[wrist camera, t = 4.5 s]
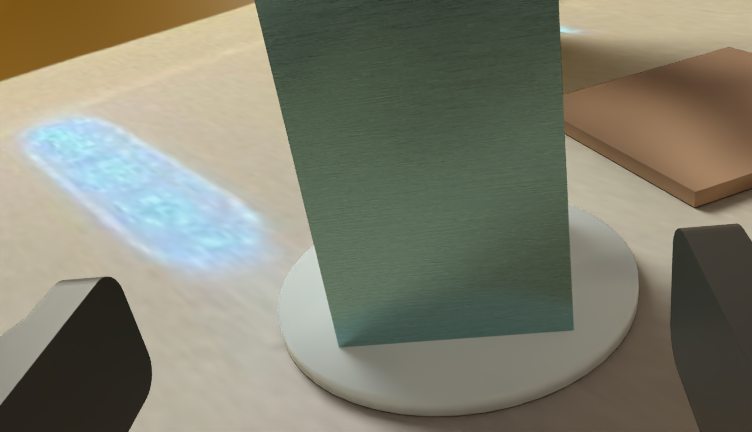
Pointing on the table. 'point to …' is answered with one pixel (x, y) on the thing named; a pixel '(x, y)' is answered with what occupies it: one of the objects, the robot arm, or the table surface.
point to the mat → (674, 124)
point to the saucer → (469, 340)
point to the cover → (429, 162)
